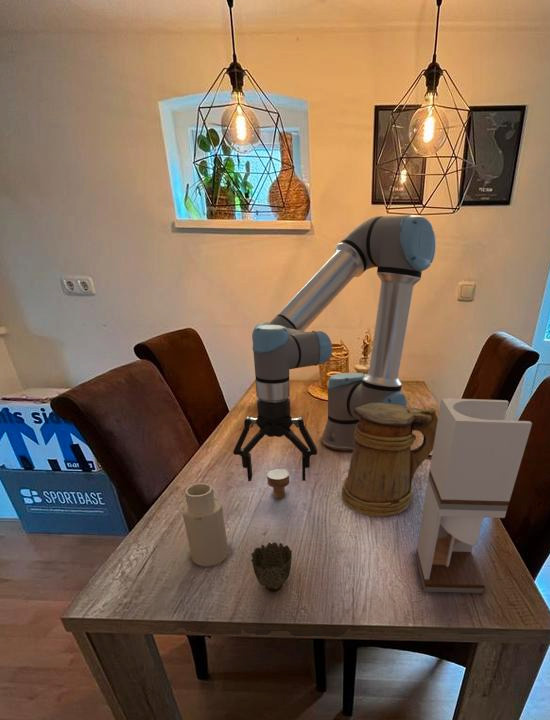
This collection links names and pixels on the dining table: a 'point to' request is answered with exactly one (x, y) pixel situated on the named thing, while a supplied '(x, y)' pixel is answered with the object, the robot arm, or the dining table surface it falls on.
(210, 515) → the bottle
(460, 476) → the white pedestal holder
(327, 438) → the robot arm
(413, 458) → the tankard
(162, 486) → the dining table surface
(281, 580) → the cup
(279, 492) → the cork
